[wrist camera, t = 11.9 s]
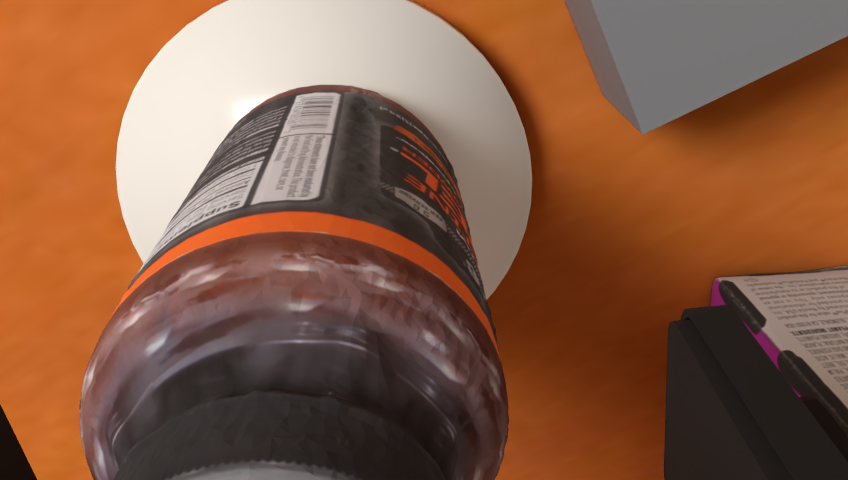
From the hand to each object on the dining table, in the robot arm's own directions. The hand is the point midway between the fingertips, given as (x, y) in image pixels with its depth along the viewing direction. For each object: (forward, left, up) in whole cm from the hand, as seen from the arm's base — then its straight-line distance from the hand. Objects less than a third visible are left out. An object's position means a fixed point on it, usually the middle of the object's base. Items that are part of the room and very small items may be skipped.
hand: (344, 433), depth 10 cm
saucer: (0, +1, -9) cm, 9 cm away
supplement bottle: (0, +1, -9) cm, 9 cm away
